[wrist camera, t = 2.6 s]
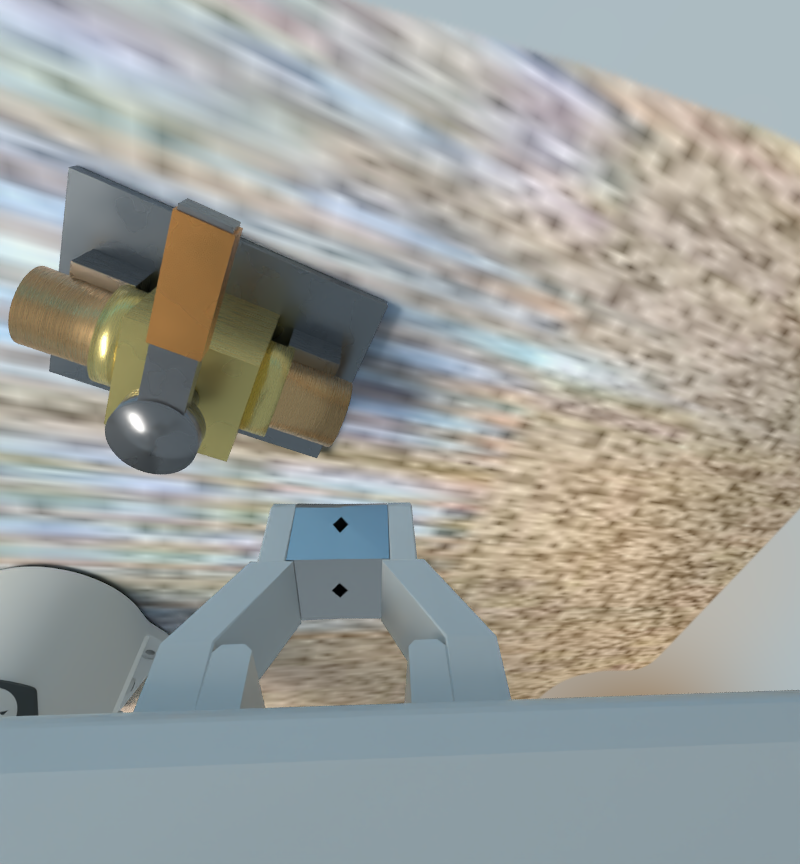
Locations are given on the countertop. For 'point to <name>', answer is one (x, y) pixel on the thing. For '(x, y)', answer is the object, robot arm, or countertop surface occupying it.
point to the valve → (233, 335)
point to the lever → (177, 343)
